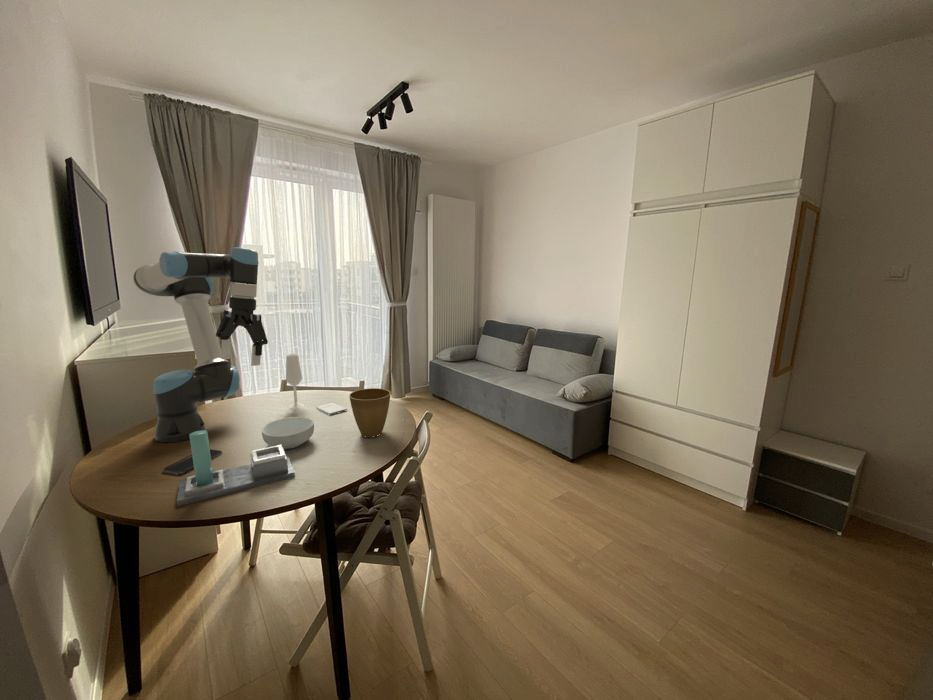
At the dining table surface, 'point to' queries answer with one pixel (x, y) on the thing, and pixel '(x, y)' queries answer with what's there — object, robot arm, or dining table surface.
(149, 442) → the dining table surface
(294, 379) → the champagne flute
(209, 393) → the robot arm
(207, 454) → the plug
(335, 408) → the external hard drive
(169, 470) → the phone
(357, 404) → the plant pot
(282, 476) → the grey slotted holder
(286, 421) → the cereal bowl
